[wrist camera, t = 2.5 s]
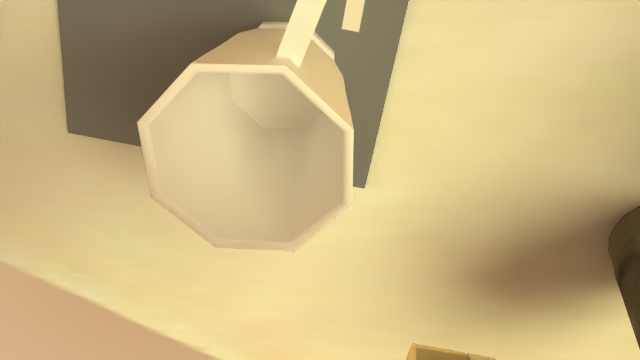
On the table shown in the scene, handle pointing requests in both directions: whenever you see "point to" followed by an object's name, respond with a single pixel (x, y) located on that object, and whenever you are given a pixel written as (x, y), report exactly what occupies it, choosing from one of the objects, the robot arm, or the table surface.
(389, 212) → the table surface
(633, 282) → the beverage cup
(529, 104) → the table surface
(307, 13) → the cup
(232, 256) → the table surface
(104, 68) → the tile
